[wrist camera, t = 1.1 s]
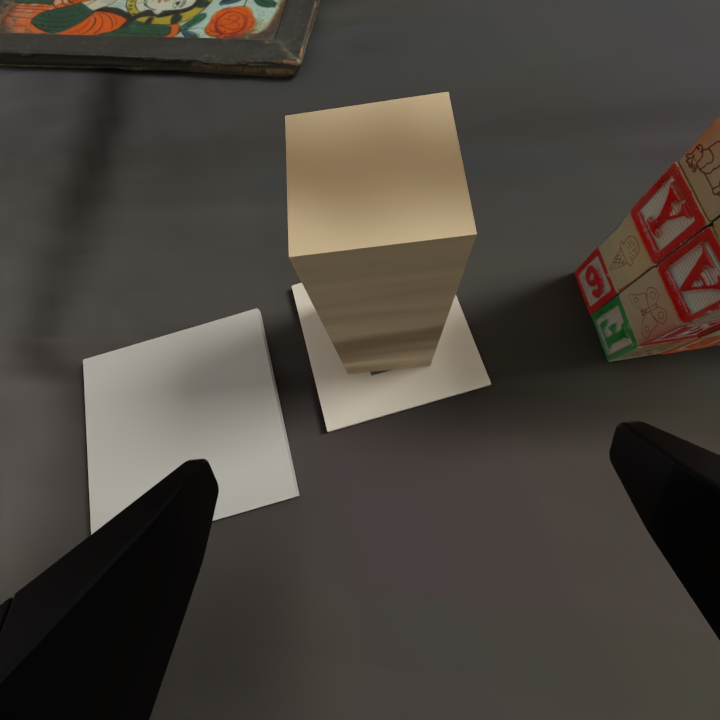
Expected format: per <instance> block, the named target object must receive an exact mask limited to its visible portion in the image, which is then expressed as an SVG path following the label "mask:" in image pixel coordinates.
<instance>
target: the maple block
mask: <svg viewBox="0 0 720 720" xmlns="http://www.w3.org/2000/svg"><path fill="white" fill-rule="evenodd" d="M285 124H286V163H287V202H288V240H289V258H290V260H291V262H292V264H293V266H294V268H295V270H296V272H297V274H298V276H299V278H300V280H301V282H302V284H303V286H304V288H305V290H306V292H307V294H308V296H309V298H310V300H311V302H312V304H313V306H314V308H315V310H316V312H317V314H318V316H319V318H320V320H321V322H322V324H323V326H324V328H325V330H326V332H327V334H328V335H329V337H330V339H331V341H332V343H333V345H334V347H335V349H336V351H337V353H338V355H339V357H340V359H341V361H342V363H343V365H344V367H345V369H346V371H347V373H348V374H354V373H364V372H374V371H384V370H394V369H404V368H415V367H425V366H430V365H431V362H432V360H433V357H434V354H435V351H436V348H437V345H438V343H439V340H440V337H441V334H442V331H443V328H444V326H445V323H446V320H447V317H448V314H449V312H450V309H451V306H452V303H453V300H454V297H455V295H456V292H457V289H458V286H459V283H460V280H461V278H462V275H463V272H464V269H465V266H466V264H467V261H468V258H469V255H470V252H471V249H472V247H473V244H474V241H475V238H476V235H477V232H476V227H475V222H474V217H473V212H472V207H471V202H470V197H469V192H468V187H467V182H466V177H465V172H464V167H463V162H462V157H461V152H460V147H459V142H458V137H457V132H456V127H455V122H454V117H453V112H452V107H451V102H450V97H449V92H443V93H436V94H430V95H423V96H416V97H409V98H403V99H396V100H389V101H382V102H376V103H369V104H362V105H355V106H349V107H342V108H335V109H328V110H321V111H315V112H308V113H301V114H294V115H288V116H285Z"/></svg>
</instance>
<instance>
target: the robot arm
mask: <svg viewBox="0 0 720 720" xmlns="http://www.w3.org/2000/svg"><path fill="white" fill-rule="evenodd" d="M610 460H611V463H612V465H613V467H614V469H615V471H616V473H617V475H618V477H619V478H620V480H621V482H622V484H623V486H624V488H625V490H626V492H627V494H628V495H629V497H630V499H631V501H632V503H633V505H634V507H635V509H636V511H637V512H638V514H639V516H640V518H641V520H642V522H643V524H644V525H645V527H646V529H647V531H648V532H649V534H650V535H651V537H652V538H653V540H654V542H655V543H656V545H657V546H658V548H659V549H660V551H661V552H662V554H663V555H664V557H665V558H666V560H667V561H668V563H669V564H670V566H671V567H672V569H673V570H674V572H675V574H676V575H677V577H678V578H679V580H680V581H681V583H682V584H683V586H684V587H685V589H686V590H687V592H688V593H689V595H690V596H691V598H692V599H693V601H694V602H695V604H696V605H697V607H698V608H699V610H700V611H701V613H702V614H703V616H704V617H705V619H706V620H707V622H708V623H709V625H710V626H711V628H712V629H713V631H714V633H715V634H716V636H717V637H718V639H719V640H720V455H718V454H715V453H713V452H711V451H708V450H706V449H704V448H702V447H699V446H697V445H695V444H692V443H690V442H688V441H686V440H683V439H681V438H679V437H676V436H674V435H672V434H670V433H667V432H665V431H663V430H660V429H658V428H656V427H654V426H651V425H649V424H647V423H644V422H641V421H633V422H622V423H620V424H618V425H617V427H616V429H615V433H614V437H613V441H612V444H611V448H610ZM218 493H219V487H218V483H217V480H216V478H215V476H214V473H213V471H212V468H211V466H210V464H209V462H208V461H207V460H206V459H192V460H188V461H186V462H184V463H183V464H182V465H180V466H179V467H178V468H176V469H175V470H174V471H173V472H171V473H170V474H169V475H167V476H166V477H165V478H164V479H162V480H161V481H160V482H158V483H157V484H156V485H155V486H153V487H152V488H151V489H149V490H148V491H147V492H146V493H144V494H143V495H142V496H140V497H139V498H138V499H137V500H135V501H134V502H133V503H131V504H130V505H129V506H128V507H126V508H125V509H124V510H122V511H121V512H120V513H119V514H117V515H116V516H115V517H113V518H112V519H111V520H110V521H108V522H107V523H106V524H104V525H103V526H102V527H101V528H99V529H98V530H97V531H95V532H94V533H93V534H92V535H90V536H89V537H88V538H86V539H85V540H84V541H83V542H81V543H80V544H79V545H77V546H76V547H75V548H73V549H72V550H71V551H70V552H68V553H67V554H66V555H64V556H63V557H62V558H61V559H59V560H58V561H57V562H55V563H54V564H53V565H52V566H50V567H49V568H48V569H46V570H45V571H44V572H43V573H41V574H40V575H39V576H37V577H36V578H35V579H34V580H32V581H31V582H30V583H28V584H27V585H26V586H25V587H23V588H22V589H21V590H19V591H18V592H17V593H16V594H15V595H14V598H13V597H12V598H9V599H8V600H6V601H5V602H4V603H3V604H1V605H0V720H149V719H150V716H151V713H152V710H153V707H154V704H155V701H156V698H157V695H158V692H159V689H160V686H161V683H162V680H163V677H164V674H165V672H166V669H167V666H168V663H169V660H170V657H171V654H172V651H173V648H174V645H175V642H176V639H177V636H178V633H179V630H180V627H181V624H182V621H183V618H184V616H185V613H186V610H187V607H188V604H189V601H190V598H191V595H192V592H193V589H194V586H195V583H196V580H197V577H198V574H199V571H200V568H201V565H202V562H203V558H204V554H205V550H206V546H207V542H208V537H209V533H210V529H211V524H212V520H213V516H214V511H215V507H216V503H217V498H218Z"/></svg>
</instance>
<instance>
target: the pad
mask: <svg viewBox="0 0 720 720" xmlns="http://www.w3.org/2000/svg"><path fill="white" fill-rule="evenodd" d="M83 370H84V392H85V413H86V435H87V456H88V478H89V500H90V521H91V535H92V534H93V533H94V532H95V531H97V530H98V529H99V528H101V527H102V526H103V525H104V524H106V523H107V522H108V521H110V520H111V519H112V518H113V517H115V516H116V515H117V514H119V513H120V512H121V511H122V510H124V509H125V508H126V507H128V506H129V505H130V504H131V503H133V502H134V501H135V500H137V499H138V498H139V497H140V496H142V495H143V494H144V493H146V492H147V491H148V490H149V489H151V488H152V487H153V486H155V485H156V484H157V483H158V482H160V481H161V480H162V479H164V478H165V477H166V476H167V475H169V474H170V473H171V472H173V471H174V470H175V469H176V468H178V467H179V466H180V465H182V464H183V463H184V462H186V461H188V460H192V459H206V460H207V461H208V462H209V464H210V466H211V468H212V471H213V473H214V476H215V478H216V480H217V483H218V487H219V493H218V498H217V503H216V507H215V511H214V516H213V520H212V521H214V520H217V519H221V518H224V517H228V516H231V515H235V514H238V513H242V512H245V511H248V510H252V509H255V508H259V507H262V506H266V505H269V504H273V503H276V502H279V501H283V500H286V499H290V498H293V497H297V496H299V491H298V486H297V481H296V477H295V472H294V467H293V463H292V458H291V453H290V448H289V444H288V439H287V434H286V430H285V425H284V420H283V415H282V411H281V406H280V401H279V396H278V392H277V387H276V382H275V378H274V373H273V368H272V363H271V359H270V354H269V349H268V345H267V340H266V335H265V330H264V326H263V321H262V316H261V312H260V311H259V310H258V308H257V309H253V310H250V311H246V312H243V313H240V314H236V315H233V316H230V317H226V318H223V319H219V320H216V321H213V322H209V323H206V324H202V325H199V326H196V327H192V328H189V329H186V330H182V331H179V332H175V333H172V334H169V335H165V336H162V337H158V338H155V339H152V340H148V341H145V342H142V343H138V344H135V345H131V346H128V347H125V348H121V349H118V350H114V351H111V352H108V353H104V354H101V355H98V356H94V357H91V358H87V359H84V360H83Z"/></svg>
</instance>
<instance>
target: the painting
mask: <svg viewBox="0 0 720 720" xmlns="http://www.w3.org/2000/svg"><path fill="white" fill-rule="evenodd" d="M320 1H321V0H0V66H24V67H57V68H79V69H100V68H119V69H124V70H134V71H148V70H161V71H183V72H200V73H214V74H229V75H251V76H265V77H289V76H291V77H293V76H294V75H295V72H296V70H297V68H300V67H301V66H302V63H303V61H304V57H305V52H306V48H307V44H308V41H309V38H310V36H311V32H312V29H313V25H314V22H315V19H316V15H317V12H318V8H319V5H320Z"/></svg>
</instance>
